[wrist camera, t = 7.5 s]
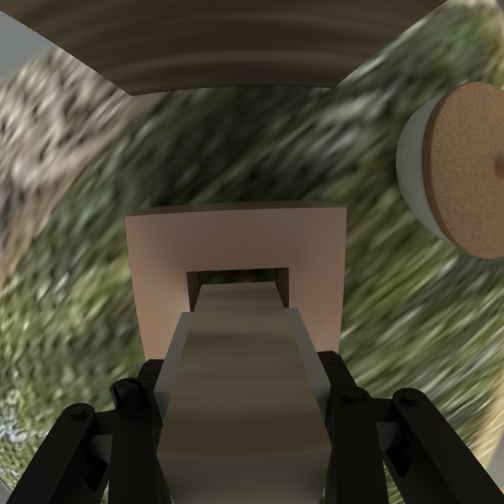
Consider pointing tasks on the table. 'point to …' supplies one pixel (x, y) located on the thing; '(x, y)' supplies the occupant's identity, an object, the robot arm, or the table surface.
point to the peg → (242, 406)
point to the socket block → (237, 260)
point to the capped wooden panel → (220, 38)
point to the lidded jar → (457, 167)
